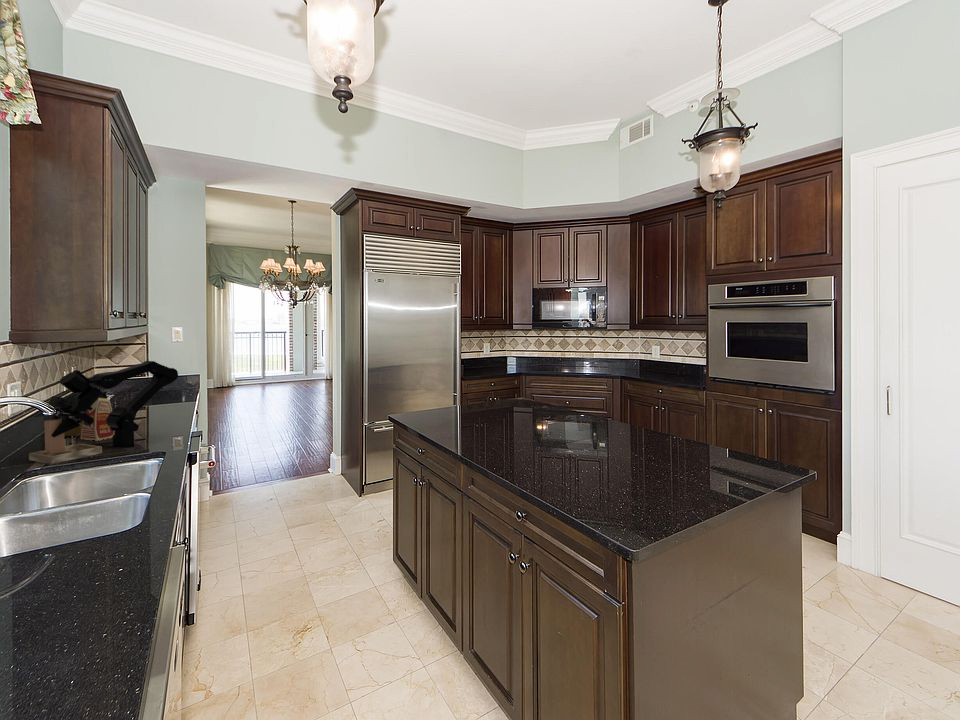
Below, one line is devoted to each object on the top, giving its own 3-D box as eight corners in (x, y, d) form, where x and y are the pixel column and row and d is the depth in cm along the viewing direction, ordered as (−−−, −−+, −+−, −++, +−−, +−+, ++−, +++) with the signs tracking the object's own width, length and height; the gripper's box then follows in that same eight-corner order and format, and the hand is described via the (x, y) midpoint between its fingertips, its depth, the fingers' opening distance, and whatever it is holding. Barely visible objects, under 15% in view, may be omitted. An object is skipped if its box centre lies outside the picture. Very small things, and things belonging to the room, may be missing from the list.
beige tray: (80, 451, 179) (80, 443, 179) (102, 454, 175) (101, 446, 175) (29, 461, 164) (28, 453, 164) (51, 465, 160) (51, 457, 160)
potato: (83, 436, 202) (82, 418, 202) (59, 439, 197) (59, 420, 197) (82, 434, 207) (81, 416, 207) (59, 436, 202) (58, 418, 202)
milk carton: (97, 440, 196) (96, 393, 195) (79, 439, 198) (78, 392, 197) (117, 436, 205) (117, 391, 204) (100, 434, 207) (99, 390, 205)
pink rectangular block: (60, 451, 169) (59, 418, 168) (64, 452, 168) (63, 419, 167) (45, 454, 165) (44, 420, 164) (50, 455, 164) (48, 421, 163)
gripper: (49, 385, 172) (12, 420, 162) (83, 389, 166) (47, 425, 156) (74, 404, 180) (40, 438, 170) (108, 407, 174) (74, 443, 164)
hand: (50, 436), depth 165 cm, fingers closed on pink rectangular block, 2 cm apart
